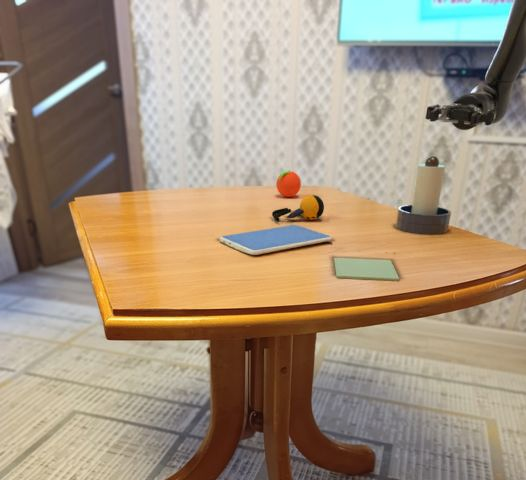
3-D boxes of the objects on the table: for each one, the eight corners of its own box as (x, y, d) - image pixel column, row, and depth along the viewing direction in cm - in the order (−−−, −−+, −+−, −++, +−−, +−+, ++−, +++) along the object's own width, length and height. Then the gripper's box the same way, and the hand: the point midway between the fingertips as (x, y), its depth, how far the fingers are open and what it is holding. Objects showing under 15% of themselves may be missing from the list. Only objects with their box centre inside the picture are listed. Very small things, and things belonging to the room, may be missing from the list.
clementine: (288, 200, 139) (289, 173, 136) (268, 197, 143) (269, 170, 140) (305, 196, 145) (306, 170, 141) (285, 193, 149) (286, 168, 145)
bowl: (440, 225, 116) (444, 205, 114) (452, 238, 106) (456, 216, 104) (392, 223, 117) (394, 203, 115) (399, 235, 107) (402, 214, 105)
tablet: (253, 257, 91) (253, 250, 90) (217, 241, 100) (217, 235, 99) (334, 243, 101) (334, 236, 100) (294, 229, 110) (295, 223, 109)
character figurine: (284, 233, 114) (331, 213, 116) (275, 209, 113) (322, 189, 115) (272, 235, 124) (315, 217, 126) (263, 213, 122) (307, 195, 124)
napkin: (390, 262, 90) (390, 260, 90) (399, 281, 81) (399, 278, 81) (333, 259, 91) (334, 257, 91) (336, 278, 82) (336, 275, 82)
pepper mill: (431, 225, 114) (443, 155, 107) (436, 231, 109) (449, 158, 102) (406, 224, 114) (417, 154, 107) (411, 230, 109) (422, 157, 102)
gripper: (444, 90, 121) (422, 96, 109) (507, 95, 115) (491, 101, 103) (437, 124, 125) (416, 133, 113) (498, 130, 119) (482, 140, 107)
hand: (451, 118), depth 108 cm, fingers open, 8 cm apart
